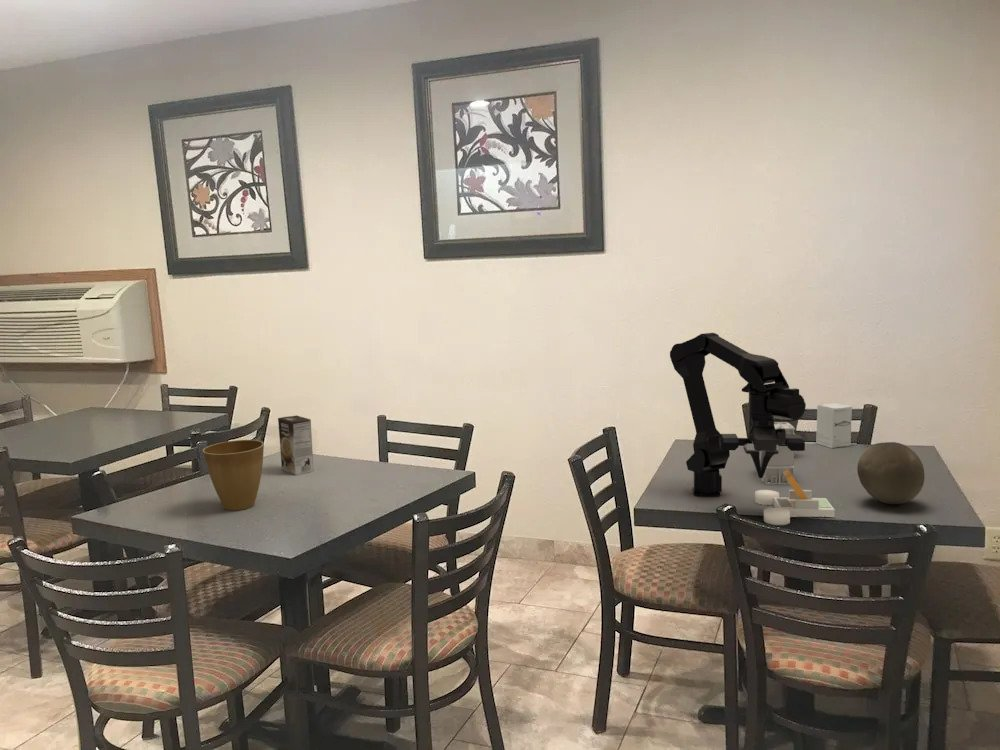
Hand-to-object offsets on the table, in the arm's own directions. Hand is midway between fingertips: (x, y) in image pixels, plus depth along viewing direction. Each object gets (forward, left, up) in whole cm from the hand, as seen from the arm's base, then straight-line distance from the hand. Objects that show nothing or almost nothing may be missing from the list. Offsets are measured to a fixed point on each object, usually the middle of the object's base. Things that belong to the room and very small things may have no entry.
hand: (760, 477), depth 190 cm
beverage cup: (+15, +53, -8) cm, 56 cm away
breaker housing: (+10, 0, -8) cm, 13 cm away
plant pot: (-130, -5, -8) cm, 131 cm away
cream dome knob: (+3, +7, -8) cm, 11 cm away
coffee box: (-129, +30, -8) cm, 133 cm away
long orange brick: (+10, 0, -5) cm, 11 cm away
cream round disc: (+3, -7, -8) cm, 11 cm away
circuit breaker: (+8, +30, -8) cm, 32 cm away
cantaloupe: (+31, +7, -8) cm, 33 cm away
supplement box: (+32, +68, -8) cm, 76 cm away
